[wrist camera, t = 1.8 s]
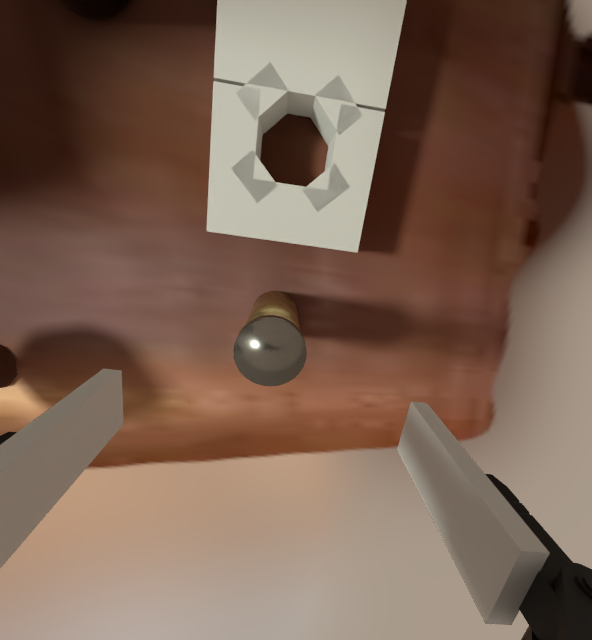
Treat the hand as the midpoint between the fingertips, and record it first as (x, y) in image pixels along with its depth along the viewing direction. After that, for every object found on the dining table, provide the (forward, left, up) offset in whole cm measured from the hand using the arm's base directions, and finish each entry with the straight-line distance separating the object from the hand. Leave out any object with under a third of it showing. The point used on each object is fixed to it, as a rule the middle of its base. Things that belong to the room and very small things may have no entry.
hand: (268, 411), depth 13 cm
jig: (0, +20, -16) cm, 26 cm away
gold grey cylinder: (0, 0, -16) cm, 16 cm away
